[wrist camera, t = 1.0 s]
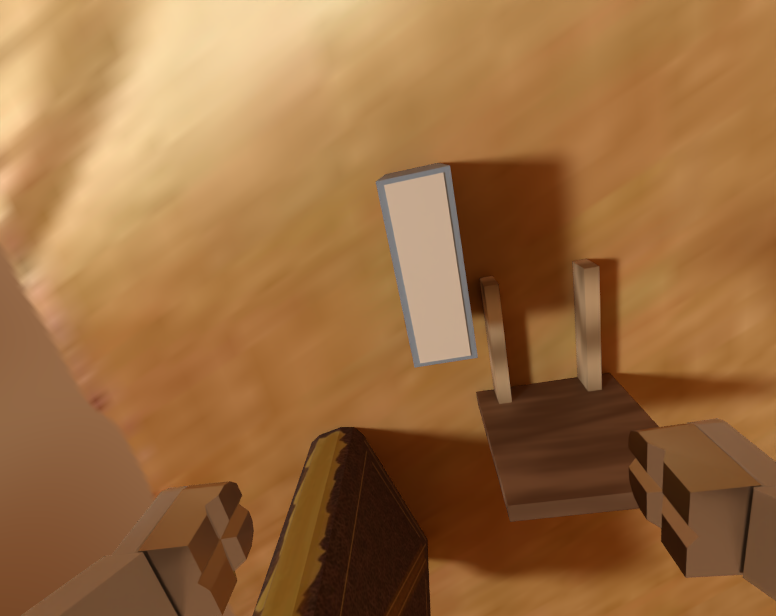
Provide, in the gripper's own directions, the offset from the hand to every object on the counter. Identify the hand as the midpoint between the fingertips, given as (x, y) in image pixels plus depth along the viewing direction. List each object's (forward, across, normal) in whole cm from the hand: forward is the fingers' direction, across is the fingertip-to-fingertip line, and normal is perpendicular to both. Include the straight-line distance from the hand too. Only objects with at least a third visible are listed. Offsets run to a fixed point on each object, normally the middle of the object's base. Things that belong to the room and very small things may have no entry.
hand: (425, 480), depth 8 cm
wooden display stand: (+29, -10, +10) cm, 32 cm away
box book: (+28, -1, 0) cm, 29 cm away
